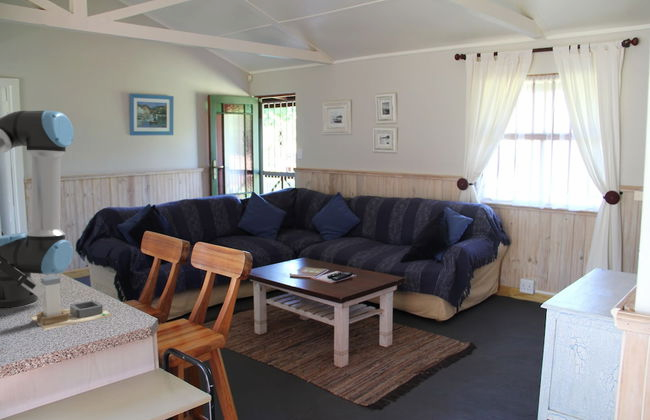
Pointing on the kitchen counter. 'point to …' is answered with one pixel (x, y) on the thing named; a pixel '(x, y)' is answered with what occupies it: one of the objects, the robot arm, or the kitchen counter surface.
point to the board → (71, 320)
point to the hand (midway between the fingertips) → (35, 288)
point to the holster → (52, 318)
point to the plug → (51, 296)
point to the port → (86, 309)
